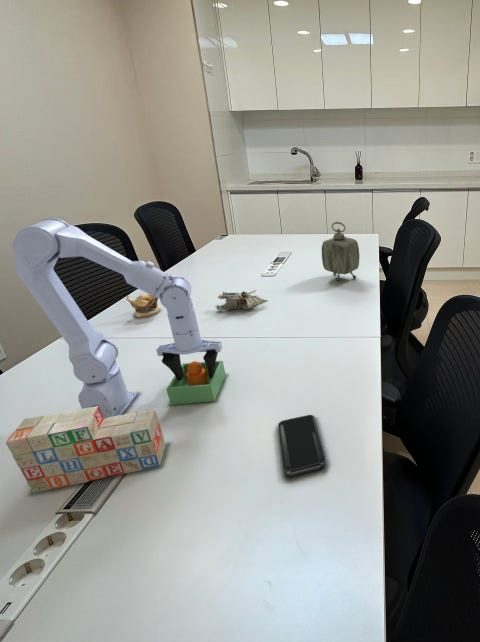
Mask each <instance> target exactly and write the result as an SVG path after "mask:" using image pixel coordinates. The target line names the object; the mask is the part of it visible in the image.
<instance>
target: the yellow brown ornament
mask: <svg viewBox="0 0 480 642" xmlns="http://www.w3.org/2000/svg"><path fill="white" fill-rule="evenodd" d="M158 300H159V298H156V297H154V296H152V295H150V294H148V293H145V294H144V293H142V294H139V295H138V296H137V297H136V299H132V298H131V297H130V296H129V295H126V301H128V302H129V304H130V305H131V307H132V308H133V309H134V316H135V318H138V319H139V318H149V317H151V316H153V315H156V314H157V313H159V312H160V309H159V307H158ZM152 309H153V310H152ZM146 310H151V311H148V312H143V313H142V311H146Z"/></svg>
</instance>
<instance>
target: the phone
mask: <svg viewBox="0 0 480 642" xmlns="http://www.w3.org/2000/svg"><path fill="white" fill-rule="evenodd" d="M278 432H279V440H280V447H281V456H282V463H283V472H284V476H285V477H287V478H293V477H296V476H301V475H305V474H308V473H309V474H310V473H314V472H317V471H321V470H323V469H325V467H326V466H327V465H326V457H325V451H324V448H323V445H322V441H321V438H320V433H319V430H318V426H317V422H316V418H315V416H314V415H313V414H307V415H303V416H298V417H293V418H289V419H283V420H281V421H279V423H278Z"/></svg>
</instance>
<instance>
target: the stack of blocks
mask: <svg viewBox="0 0 480 642" xmlns="http://www.w3.org/2000/svg"><path fill="white" fill-rule="evenodd" d="M5 445H6V446H7V448H8V450H9V452H10V453H11V455H12V458H13V460H14V462H15V463H16V465H17V467H18V468H19V469H20V472H21V473H22V476H23V477H24V479H25V480H26V483H27V485H28V487H29V488H30V490H31V491H32V493H35V494H36V493H41V492H45V491H49V490H56V489H61V488H65V487H70V486H74V485H80V484H85V483H88V482H91V481H96V480H100V479H105V478H109V477H113V476H118V475H123V474H129V473H134V472H138V471H142V470H149V469H153V468H158V467H160V466H161V463H162V460H163V456H164V454H165V450H166V441H165V437H164V435H163V431H162V427H161V425H160V423H159V418H158V415H157V411H156V409H155V408H153V409H147V410H143V411H139V412H138V411H135V412H131V413H125V414H124V413H123V414H122V415H118V416H113V417H108V418H105V419H103V415H102V413H101V410H100V408H99V406H95V407H90V408H84V409H82V408H80V409H73V410H67V411H63V412H57V413H51V414H46V415H39V416H33V417H28V418H24V419H23V420H22V421H21V422H20V424H19V425H18V426H17V427H16V429H15V430H14V431H13V432H12V433H11V435H10V436H9V437H8V439H7V440H6V442H5Z"/></svg>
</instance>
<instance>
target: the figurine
mask: <svg viewBox="0 0 480 642" xmlns="http://www.w3.org/2000/svg"><path fill="white" fill-rule="evenodd" d="M257 290H258V289H257V288H256V289H254V290H252V291H250V292H247V291H245V290H244V291H241V292H228V291H226V292H225V291H222V294H218V296H217V298H218V299H219V300H224V302H225V303H223V304H221V305H219V304H218V303H217V305H215V306H214V307H215V308H216V310H219V311H222V310H224V311H225V310H226V311H232V310H233V309H234V310H235V309H237V310H239V309H243V310H246V311H247V310H249V309H254V308H256V307H258V306H261V305H263V304H264V303H266V302H268V301H269V300H268V299H267V300H266V299H263V298H260V297H258V296H257V295H256V294H254V293H256V291H257ZM251 294H254V295H251Z"/></svg>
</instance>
